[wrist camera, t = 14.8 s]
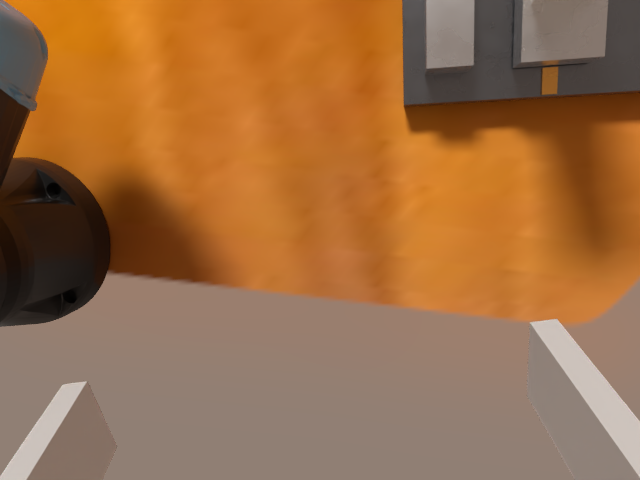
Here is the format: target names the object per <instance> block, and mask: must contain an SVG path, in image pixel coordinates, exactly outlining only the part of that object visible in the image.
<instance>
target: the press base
mask: <svg viewBox="0 0 640 480" xmlns="http://www.w3.org/2000/svg"><path fill="white" fill-rule="evenodd" d="M402 2H403V80H404V107H409V106H426V105H443V104H460V103H476V102H493V101H510V100H526V99H543V98H560V97H576V96H593V95H610V94H626V93H640V0H608V12H607V29H606V45H605V57H602V58H600V59H598V60H595V61H593V62H591V63H579V64H565V65H550V66H536V67H522V68H513V44H514V8H515V0H402Z"/></svg>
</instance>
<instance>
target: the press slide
mask: <svg viewBox="0 0 640 480" xmlns="http://www.w3.org/2000/svg"><path fill="white" fill-rule="evenodd" d="M607 12H608V0H515V8H514V44H513V68H522V67H536V66H550V65H565V64H579V63H591V62H593V61H595V60H598V59H600V58H602V57H605V45H606V29H607Z"/></svg>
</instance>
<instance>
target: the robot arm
mask: <svg viewBox="0 0 640 480" xmlns="http://www.w3.org/2000/svg"><path fill="white" fill-rule="evenodd" d="M47 60H48V48H47V44H46V41H45V39H44V37H43V35H42V33H41V32H40V30H39V29H38V28H37V27H36V26H35V25H34V24H33V23H32V22H31V21H30V20H29V19H28V18H27V17H26V16H24V15H23V14H22V13H21V12H19V11H18V10H16V9H15V8H14V7H12V6H11V5H9V4H8V3H6V2H5V1H3V0H0V327H1V326H15V325H26V324H39V323H46V322H50V321H53V320H56V319H59V318H61V317H63V316H65V315H67V314H69V313H71V312H73V311H75V310H77V309H78V308H80V307H82V306H83V305H85V304H86V303H87V302H89V300H90V299H92V298H93V297H94V295H95V294H96V293H97V291H98V290H99V288H100V287H101V285H102V283H103V281H104V279H105V276H106V273H107V270H108V265H109V259H110V240H109V233H108V229H107V225H106V222H105V219H104V216H103V214H102V211H101V209H100V207H99V205H98V203H97V202H96V200H95V198H94V197H93V196H92V194H91V193H90V191H89V190H88V189H87V188H86V187H85V186H84V184H83V183H82V182H81V181H80V180H79V179H77V178H76V177H75V176H74V175H73V174H71V173H70V172H68V171H67V170H65V169H64V168H62V167H60V166H58V165H56V164H54V163H52V162H49V161H46V160H42V159H37V158H28V157H26V158H13V155H14V152H15V150H16V147H17V145H18V142H19V139H20V137H21V134H22V131H23V129H24V126H25V124H26V121H27V118H28V116H29V113H30V111H35V110H36V107H37V103H36V101H35V98H36V95H37V92H38V88H39V85H40V82H41V79H42V76H43V73H44V70H45V67H46V64H47ZM527 397H528V399H529V400H530V402H531V404H532V406H533V408H534V409H535V411H536V413H537V415H538V416H539V418H540V420H541V422H542V423H543V425H544V427H545V429H546V431H547V432H548V434H549V436H550V438H551V439H552V441H553V443H554V445H555V446H556V448H557V450H558V451H559V454H560V455H561V457H562V459H563V461H564V462H565V464H566V466H567V468H568V469H569V471H570V473H571V475H572V476H573V478H574V480H640V421H639V420H638V419H637V417H636V416H635V415H634V414H633V413H632V411H631V410H630V409H629V408H628V406H627V405H626V404H625V403H624V401H623V400H622V399H621V398H620V397H619V395H618V394H617V393H616V392H615V390H614V389H613V388H612V387H611V385H610V384H609V383H608V382H607V380H606V379H605V378H604V377H603V376H602V374H601V373H600V372H599V371H598V369H597V368H596V367H595V366H594V364H593V363H592V362H591V361H590V359H589V358H588V357H587V356H586V354H585V353H584V352H583V351H582V349H581V348H580V347H579V346H578V344H577V343H576V342H575V341H574V340H573V338H572V337H571V336H570V335H569V333H568V332H567V331H566V330H565V328H564V327H563V326H562V325H561V323H560V322H559V321H558V320H557V319H553V320H545V321H537V322H530V328H529V354H528V379H527ZM116 448H117V445H116V443H115V441H114V438H113V436H112V434H111V432H110V430H109V428H108V425H107V423H106V421H105V419H104V417H103V414H102V412H101V410H100V408H99V406H98V403H97V401H96V399H95V397H94V395H93V393H92V390H91V388H90V386H89V384H88V382H87V381H84V382H77V383H69V384H63V385H62V386H61V388H60V389H59V391H58V392H57V393H56V395H55V396H54V398H53V399H52V401H51V402H50V404H49V405H48V407H47V408H46V410H45V411H44V413H43V414H42V416H41V417H40V418H39V420H38V421H37V423H36V425H35V426H34V427H33V429H32V430H31V432H30V433H29V435H28V436H27V438H26V439H25V441H24V443H22V445H21V446H20V448H19V449H18V451H17V452H16V454H15V455H14V457H13V458H12V460H11V461H10V463H9V464H8V466H7V467H6V469H5V470H4V472H3V473H2V474H1V476H0V480H102V479H103V477H104V475H105V473H106V471H107V468H108V466H109V464H110V462H111V460H112V457H113V455H114V453H115V451H116Z"/></svg>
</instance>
